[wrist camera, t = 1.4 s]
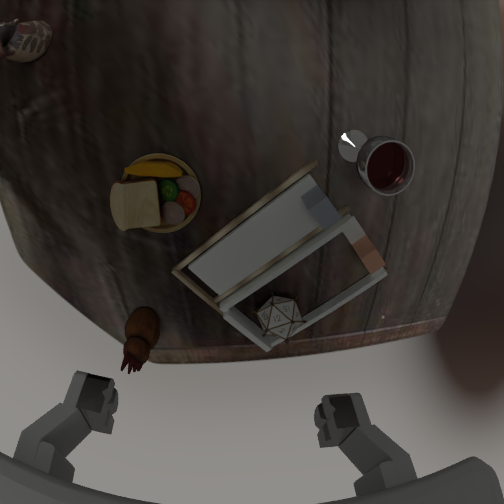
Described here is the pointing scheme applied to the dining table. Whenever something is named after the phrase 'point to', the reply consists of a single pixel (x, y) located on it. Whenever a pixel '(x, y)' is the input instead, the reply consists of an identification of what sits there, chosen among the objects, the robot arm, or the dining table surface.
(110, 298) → the dining table surface
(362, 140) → the wineglass
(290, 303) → the game die
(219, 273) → the inner strip
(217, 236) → the lane rails
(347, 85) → the dining table surface
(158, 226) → the toy sandwich meal
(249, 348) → the dining table surface
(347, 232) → the grey rectangular frame
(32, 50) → the figurine
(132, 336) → the wooden figurine
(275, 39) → the dining table surface
